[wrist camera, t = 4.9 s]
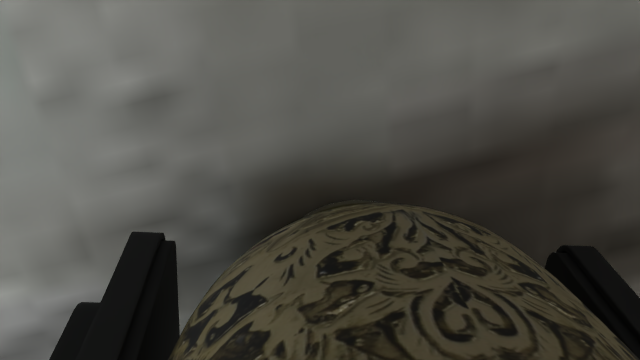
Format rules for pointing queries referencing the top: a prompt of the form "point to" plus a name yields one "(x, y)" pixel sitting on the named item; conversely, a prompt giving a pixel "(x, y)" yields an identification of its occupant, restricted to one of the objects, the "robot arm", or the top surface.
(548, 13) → the top surface
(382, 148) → the top surface
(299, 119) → the top surface
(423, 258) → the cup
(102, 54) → the top surface
